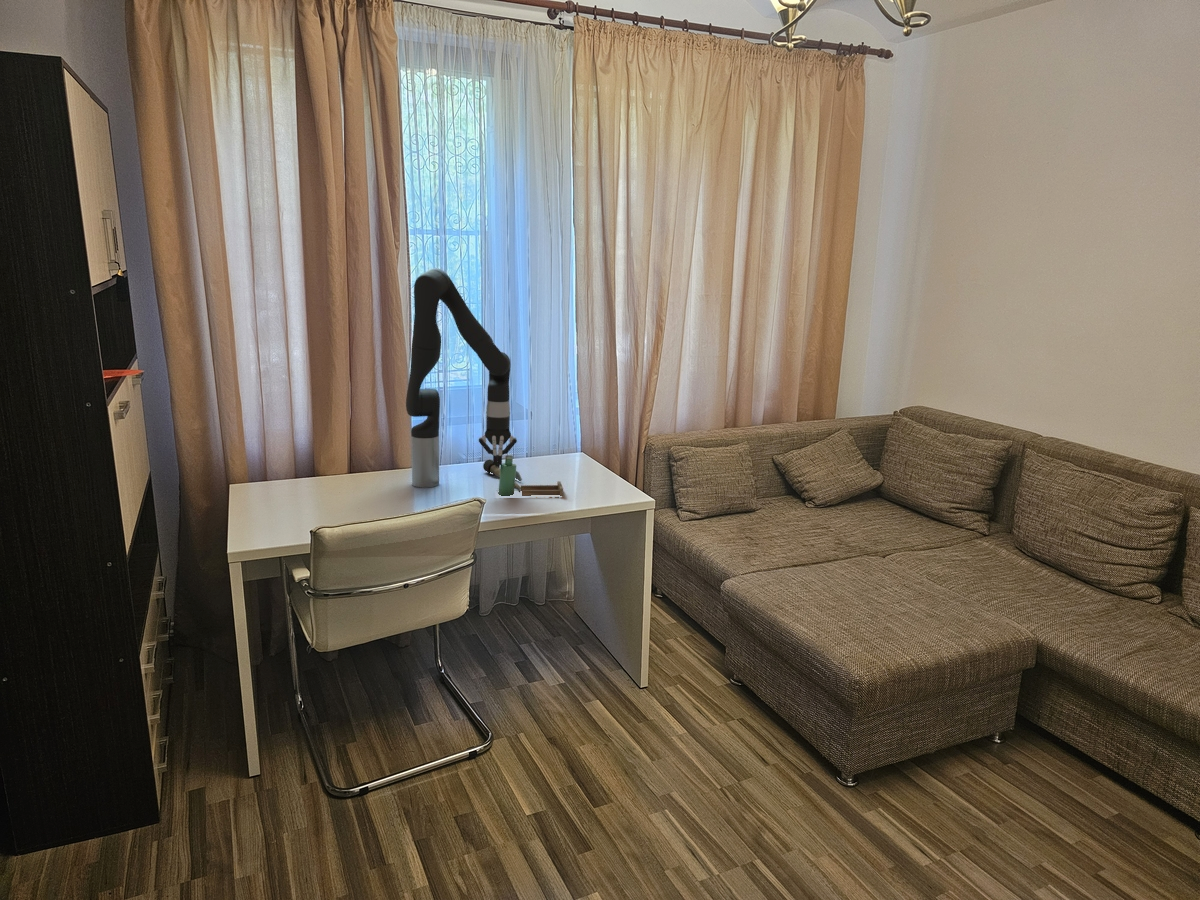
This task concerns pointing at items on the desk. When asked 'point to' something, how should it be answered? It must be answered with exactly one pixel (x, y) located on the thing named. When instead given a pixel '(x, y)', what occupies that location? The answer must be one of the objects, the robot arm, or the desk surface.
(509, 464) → the bottle
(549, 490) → the cradle
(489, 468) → the wall sconce
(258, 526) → the desk surface
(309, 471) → the desk surface
